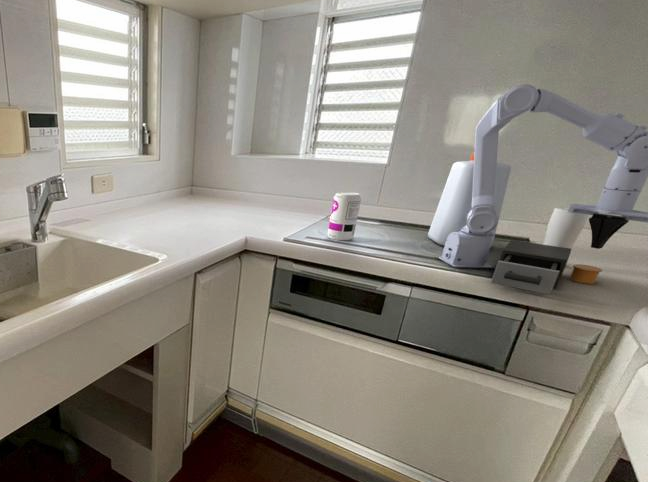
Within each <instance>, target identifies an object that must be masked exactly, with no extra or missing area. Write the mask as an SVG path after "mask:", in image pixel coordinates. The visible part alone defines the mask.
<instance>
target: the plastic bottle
mask: <svg viewBox="0 0 648 482" xmlns="http://www.w3.org/2000/svg"><path fill="white" fill-rule="evenodd" d="M474 155H475V151H473V152H472V153H471V155H470V159H469V160H464V161H460V160H459V161H456V162H454V163H453V164H452V166H451V169H450V171H449V174H448V177H447V180H446V183H445V186H444V187H443V190H442V194H441V197H440V199H439V202H438V205H437V208H436V210H435V213H434V216H433V219H432V222H431V225H430V228H429V230H428V233H427V237H428V238H429V239H430V240H431V241H433V242H435V243H436V244H438V245H440V246H443V247H444V246H445V243H446V239H447V237H448V236H449V234H450V233H453V232H459V231H461V229H462V228H463V227H465V226H466V225H467V219H466V217H467V214H468V212H469V211H470V209H471V205H472V192H473V173H474ZM511 172H512V167H511V165H510V164H508V163H503V162H499V161H497V166H496V181H495V195H494V210H495V211H496V215H497V216H498V222H499V221H500V216H501V212H502V209H503V208H502V207H503V204H504V200H505V197H506V191H507V188H508V183H509V179H510V176H511ZM497 228H498V225H497V226H496V228H495V229H494V230H492V231H494V232H495V234H494V237H493V240H492V243H491V246H490V248H491V247H493V244H494V241H495V236H496V234H497V233H496V232H497Z"/></svg>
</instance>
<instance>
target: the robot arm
mask: <svg viewBox="0 0 648 482" xmlns="http://www.w3.org/2000/svg"><path fill="white" fill-rule="evenodd" d="M527 112H529V113H547V114H549V115H552V116H555V117H557V118H558V119H560V120H563V121H565V122H566V123H569V124H572V125H574V126H576V127H579V128H581V129H582V137H583V139H586V140H588V141H590V142H592V143H594V144H596V145H598V146H600V147H603V148H605V149H606V150H608V151H611V152H616V155H617V158H616V160H615V163H614V165H613V166H612V168H611V170H610V173H609V176H608V177H607V180H606V183H605V184H604V187H603V189H602V192H601V193H600V197H599V199H598V201H597V203H596V205H593V204H592V205H591V204H580V203H572V204H570V205H569V210H568V212H570V213H581V214H588V216H589V215H590V216H591V217H589V218H588V222H589V225H590V231H591V243H590V248H592V249H595V250H596V249H597V250H599V249H603V248H604V246H605V245H606V243H607V242H608V241H609V240H610V238H611V237H613V236H614V235H615V234H616V233H617V232H618V231H619V230H620V229H621V228H622V227H624V226H625V225H627V224H628V223H629V221H633V222H641V223H646V224H648V211H642V210H636V209H635V210H634V207H635V205H636V204H637V200H638V199H639V196H640V194H641V192H642V190H643V188H644V186H645V184H646V181H647V180H648V131H646V130H647V129H648V126H647V125H644V124H642V125H640V126H639V125H637V124H635V123H633V122H631V121H630V120H629V121H628V120H627V119H625V118H624V117H625V114H623V113H621V112H616V113H615V114H614V113H612V112H606V113H601V114H595V113H594V112H593V111H591V110H588V109H586V108H584V107H582V106H581V105H579V104H577V103H575V102H572V101H571V100H569V99H567V98H565V97H563V96H562V95H560V94H558V93H555V92H552V91H549V90H547V89H543V88H538V89H537V88H536V87H535V86H534V85H532V84H529V83H528V84H526V83H524V84H523V83H522V84H518V85H516V86H513V87H512V88H511V89H509V90H507V91H506V92H504V94H503V95H501V96H500V97H498V98H497V99H496V100H495V101H494V102H493V103H492V105H491V106H490V108H489V109H488V110H487V111H486V112H485V114H484V115H483V116H482V117H481V119H480V120H479V121H478V123H477V124H476V127H475V139H474V152H475V155H474V173H473V192H472V205H471V209H470V211H469V212H468V214H467V217H466V219H467V225H466V226H465V227H463V228H462V229H461V231H459V232H453V233H450V234H449V236H448V237H447V239H446V243H445V246H443V250H442V254H441V256H439V260H441V261H443V262H444V263H446V264H448V265H450V266H451V267H454V268H469V269H470V268H471V269H472V268H473V269H493V266H492V265H490V264H488V263H486V261H487V258H488V256H489V252H490V249H491V247H492V246H491V243H492V240H493V237H494V234H495V235H496V233H495V232H494V231H492V230H494V229H495V228H496V226H497V227H498V225H499V221H498V216H497V215H496V211H495V210H494V195H495V181H496V166H497V162H498V150H499V134H500V131H501V130H502V129H503V128H504V127H506V126H507V125H508V123H510V122H512V120H513V119H515V118H517V117H519V116H520V115H523V114H524V113H527ZM494 238H495V237H494ZM490 246H491V247H490Z"/></svg>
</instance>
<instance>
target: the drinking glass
mask: <svg viewBox="0 0 648 482" xmlns="http://www.w3.org/2000/svg"><path fill="white" fill-rule="evenodd" d="M569 207H570V206H569ZM569 207H567V206H556V207H554V208H553V211H552V213H551V216H550V218H549V220H548V224H547V227H546V231H545V235H544V239H543V242H542V245H549V246H556V247H563V248H570V249H571V250H572V249H573V248H574V245H575V243H576V242H577V240H578V238H579V236H580V234H581V232H582V230H583V229H584V227H585V224H586V222H587V220H588V217H589V215H588V214H581V213H570V212H568V210H569Z"/></svg>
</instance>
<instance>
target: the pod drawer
mask: <svg viewBox="0 0 648 482" xmlns="http://www.w3.org/2000/svg"><path fill="white" fill-rule="evenodd" d="M558 263H559V262H554V261H548V260H542V259H536V258H530V257H524V256H517V255H511V254H509V255H508V256H507V257H506V258H505V260H504V261H499V260H498V261H497V264H496V267H495V270H494V272H493V275H492V278H491V281H490V283H492V284H496V285H501V286H505V287H511V288H515V289H520V290H526V291H530V292H534V293H540V294H544V295H551V293H552V291H553V286H554V284H555V282H556V279H557V277H558V274H559V272H560V271H557V270H556V268H557V265H558Z"/></svg>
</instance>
